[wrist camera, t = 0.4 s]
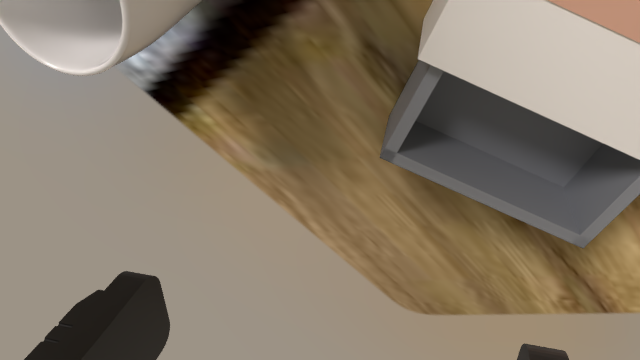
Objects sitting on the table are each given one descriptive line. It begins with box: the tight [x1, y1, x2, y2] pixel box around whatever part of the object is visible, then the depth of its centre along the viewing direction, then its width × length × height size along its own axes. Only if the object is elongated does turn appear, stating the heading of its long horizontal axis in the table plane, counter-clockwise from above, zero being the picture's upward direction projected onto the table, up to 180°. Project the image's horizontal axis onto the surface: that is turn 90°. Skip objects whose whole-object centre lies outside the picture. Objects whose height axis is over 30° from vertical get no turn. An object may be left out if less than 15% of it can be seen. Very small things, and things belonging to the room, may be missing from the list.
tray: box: [380, 60, 640, 248], centre depth 27 cm, size 18×14×6 cm
